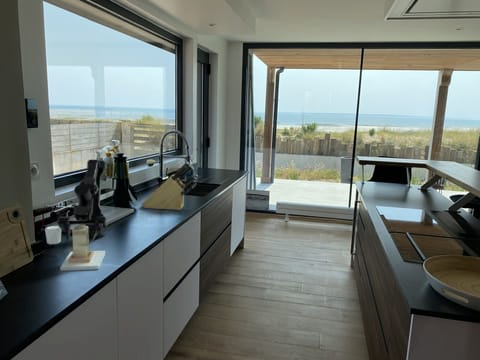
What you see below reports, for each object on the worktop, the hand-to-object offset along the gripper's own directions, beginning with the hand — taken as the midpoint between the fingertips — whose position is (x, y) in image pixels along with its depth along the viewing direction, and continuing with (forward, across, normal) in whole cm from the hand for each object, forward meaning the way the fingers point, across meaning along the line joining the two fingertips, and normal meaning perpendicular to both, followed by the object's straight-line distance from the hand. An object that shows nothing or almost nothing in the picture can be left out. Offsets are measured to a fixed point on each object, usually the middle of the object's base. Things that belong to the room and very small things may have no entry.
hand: (80, 241), depth 148 cm
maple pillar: (+5, 0, +7) cm, 8 cm away
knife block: (-55, +37, +69) cm, 95 cm away
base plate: (+6, 0, +8) cm, 10 cm away
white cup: (-12, -17, +26) cm, 33 cm away
